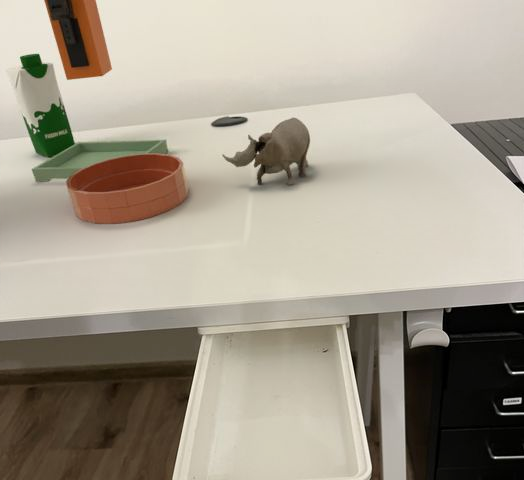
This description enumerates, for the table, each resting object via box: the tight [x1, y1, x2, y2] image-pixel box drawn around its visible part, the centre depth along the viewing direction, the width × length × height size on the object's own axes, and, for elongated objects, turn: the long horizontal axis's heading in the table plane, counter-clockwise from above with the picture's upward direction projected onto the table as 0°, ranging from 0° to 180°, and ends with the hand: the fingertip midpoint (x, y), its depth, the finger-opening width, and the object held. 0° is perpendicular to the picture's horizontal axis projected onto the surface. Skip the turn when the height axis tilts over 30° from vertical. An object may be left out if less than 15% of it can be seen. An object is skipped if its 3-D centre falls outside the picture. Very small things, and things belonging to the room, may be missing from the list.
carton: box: [43, 0, 113, 81], centre depth 87 cm, size 6×6×15 cm
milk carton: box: [5, 53, 76, 158], centre depth 122 cm, size 9×9×20 cm
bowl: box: [65, 153, 189, 225], centre depth 92 cm, size 19×19×6 cm
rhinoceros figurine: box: [221, 116, 311, 186], centre depth 94 cm, size 8×14×15 cm
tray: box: [31, 139, 169, 182], centre depth 113 cm, size 22×18×2 cm
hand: (86, 62), depth 90 cm, fingers closed on carton, 6 cm apart
